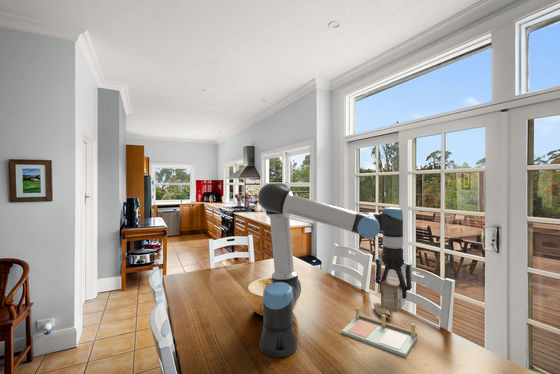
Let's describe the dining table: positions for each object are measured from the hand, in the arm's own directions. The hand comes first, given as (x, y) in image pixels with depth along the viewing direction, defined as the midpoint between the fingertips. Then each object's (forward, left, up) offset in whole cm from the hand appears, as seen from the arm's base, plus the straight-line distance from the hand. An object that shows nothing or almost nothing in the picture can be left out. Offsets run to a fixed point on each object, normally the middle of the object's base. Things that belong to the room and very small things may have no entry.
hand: (393, 303), depth 110 cm
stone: (+21, +12, -16) cm, 29 cm away
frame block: (0, 0, -1) cm, 1 cm away
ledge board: (+1, +6, -16) cm, 17 cm away
